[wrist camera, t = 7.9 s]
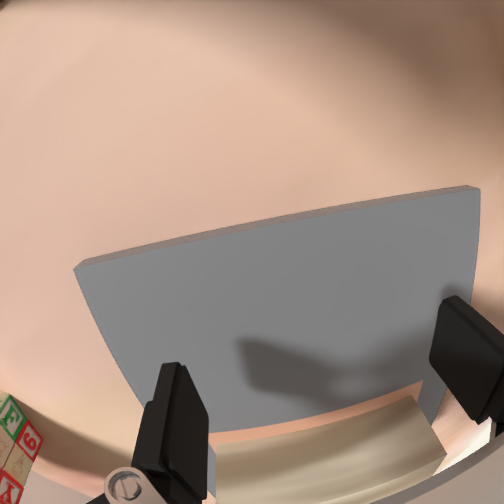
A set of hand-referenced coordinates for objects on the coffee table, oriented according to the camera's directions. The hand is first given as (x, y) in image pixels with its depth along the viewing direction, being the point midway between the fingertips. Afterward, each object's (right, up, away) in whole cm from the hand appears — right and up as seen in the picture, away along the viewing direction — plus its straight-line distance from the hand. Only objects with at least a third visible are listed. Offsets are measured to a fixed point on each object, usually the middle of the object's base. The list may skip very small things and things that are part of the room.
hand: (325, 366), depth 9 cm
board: (+2, -7, +6) cm, 9 cm away
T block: (+2, -11, +7) cm, 13 cm away
